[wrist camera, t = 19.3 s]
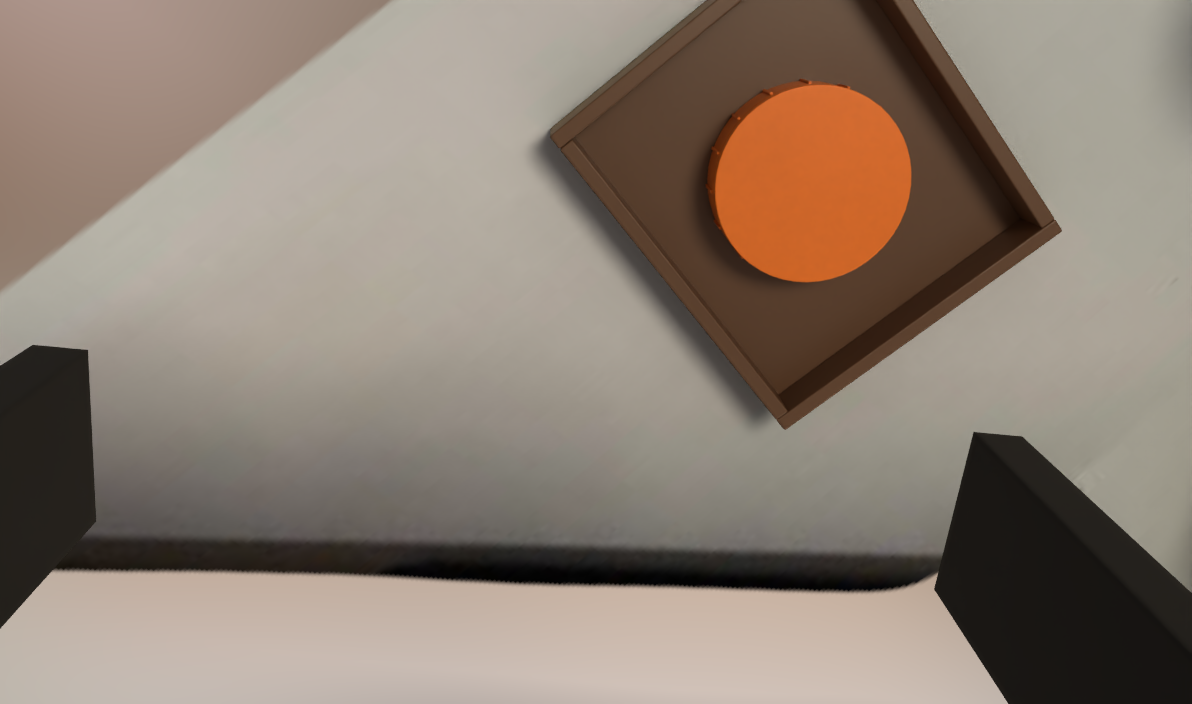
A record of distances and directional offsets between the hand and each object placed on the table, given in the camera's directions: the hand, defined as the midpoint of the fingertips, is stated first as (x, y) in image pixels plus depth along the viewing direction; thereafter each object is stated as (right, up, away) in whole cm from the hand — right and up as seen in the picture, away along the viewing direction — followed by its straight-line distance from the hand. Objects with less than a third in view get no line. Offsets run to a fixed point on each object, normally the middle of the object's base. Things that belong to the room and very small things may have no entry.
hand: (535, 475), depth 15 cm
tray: (+9, +9, +25) cm, 29 cm away
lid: (+9, +8, +23) cm, 26 cm away
